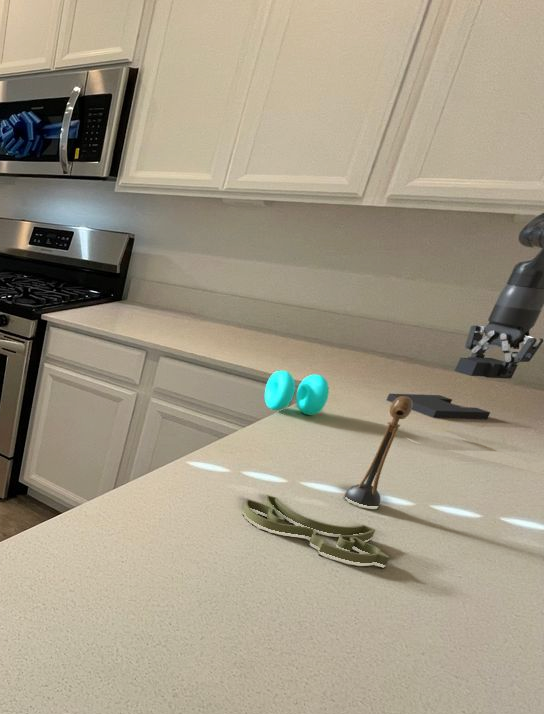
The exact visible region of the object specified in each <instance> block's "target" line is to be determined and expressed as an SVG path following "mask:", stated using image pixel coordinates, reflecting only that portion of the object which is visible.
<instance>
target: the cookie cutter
mask: <svg viewBox="0 0 544 714" xmlns="http://www.w3.org/2000/svg"><path fill="white" fill-rule="evenodd" d="M273 505H274V506H273ZM243 508H244V513H245V514H246V516H247V517H248V518H249V519H251V520H252V521H254V522H255V523H257V524H259V525H261V526H263V527H266V528H268V529H271V530H275V531H279V532H285V533H291V534H298V535H305V536H309V537H311V539H310V542H311V543H312V544H314V545H316V546H318V547H319V548H320V550H319V551H320V552H324V553H326V554H329V555H332V556H335V557H338V558H341V559H345V560H349V561H353V562H360V563H372V562H377V563H380V564H383V565H386V566H387V565H388V562H389V560H390V556H389V555H388V554H386V553H384V552H383V551H381V549H380V548H379V547H378V546H376V545H374V544H372V543H370V542H368V543H366V542H364V541H365V540H368V539H370V538H371V537H372V538H373V537H374V534H375V532H376V529H375V528H372V527H370V526H368V525H365V524H361V525H355V526H343V525H342V526H341V525H334V524H329V523H324V522H321V521H317V520H314V519H311V518H308V517H306V516H304V515H301V514H300V513H297V512H295V511H294V510H292V509H290V508H289V507H287V506H286V505H285V504H283V503H282V502H281V501H280V500H279V499H278V497H276V496H272V495H268V494H266V496H265V499H264V502H263V503H261V502H259V501H256V500H252V499H249V498H247V499H246V500H245V503H244V506H243ZM250 508H252V509H255V510H258V511H260V512H263V513H265V514H267V519H266V518H265V517H263V516H260V515H258V514H256V513H255V512H253V511H252V510H251V509H250ZM277 510H278V511H280V512H281V513H282V514H283V515H285V516H286V517H288V518H290V519H292V520H293V521H295V522H297V523H300V524H302V525H304V526H307V527H310V528H307V527H301V526H295V525H293V524H285V523H284V522H285V521H286V520H285V518H284V517H283V516H282V515H281V514H280V513H279V512H278V511H277ZM311 528H313V529H311ZM314 529H316V530H319V531H323V532H327V533H333V534H341V535H340V537H339V538H337V539H338V540H337V541H336V544H337V545H338V546H339V547H341V548H344V549H347V550H351V552H349V551H345V550H342V549H339V548H336V547H335V546H332V545H330V544H327V543H326V540H325V539H323V538H322V537H320V536H317V534H316V533H317V532H316V531H315V530H314ZM359 533H363V534H359ZM353 534H358V535H353ZM353 546H355V547H357V548H358V549H360V550H362V551H365V552H368V553H370V554H359V553H357V552H354V551H352V547H353Z"/></svg>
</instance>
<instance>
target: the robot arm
mask: <svg viewBox="0 0 544 714" xmlns="http://www.w3.org/2000/svg"><path fill="white" fill-rule="evenodd" d="M518 242H519V244H520V245H521V246H523V247H525V248H528V249H534V250H540V251H539V252H537V254H536V255H535V257H533V258H531V259H522V260H520V261H517V263H515V265H514V266H513V268H512V270H511V272H510V274H509V277H508V279H507V281H506V284H505V285H504V286H503V288H502V290H501V291H500V293H499V295H498V297H497V299H496V301H495V304H494V305H493V308H492V310H491V312H490V315H489V316H488V319H487V321H488V323H487V324H486V325H479V324H473V325H471V326H470V328H469V331H468V335H467V339H466V342H465V345H464V348H465V349H466V350H470V351H471V356H470V357H482V358H485V356H486V354H485V353H487V352H488V351H489V350H490V349H492V348H495V347H496V346H497V347H498V348H501V351H502V353H503V354H504V360H502V361H503V363H502V366H501V368H500V370H499V372H498V374H497V375H498V376H500V377H508V376H509V375H511V374H512V373H513V370H514V368H515V366H516V365H518V364H519V363H528V362H530V361H532V359H533V357H534V356H535V354H536V353H537V352H538V351H539V348H540V347H541V346H542V344H543V343H544V339H543V338H541V337H534V336H531V335H530V334H531V333H530V330H531V329H532V328H534V327H535V325H536V323H537V321H538V320H539V317H540V315H541V313H542V311H543V308H544V212H541V213H539V214H538V215H537V216H534V217H533V218H532V219H530V220H529V221H528V222H526V224H525V225H523V227H522V228H521V230H519V233H518ZM484 335H485V336H484ZM522 344H523V346H522Z"/></svg>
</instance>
